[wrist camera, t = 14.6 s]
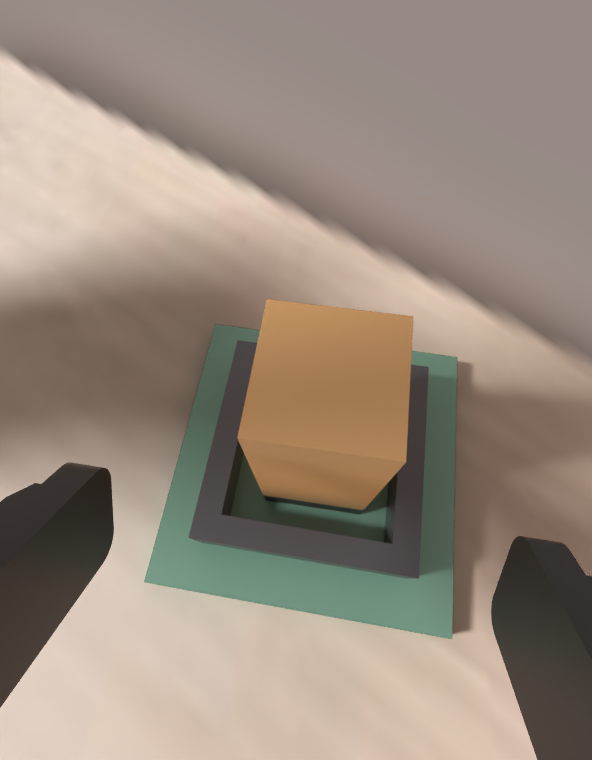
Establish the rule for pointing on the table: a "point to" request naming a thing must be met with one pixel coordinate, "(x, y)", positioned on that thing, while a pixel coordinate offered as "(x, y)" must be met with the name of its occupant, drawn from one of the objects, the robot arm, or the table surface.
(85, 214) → the table surface
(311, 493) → the tan cardboard box
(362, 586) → the board
